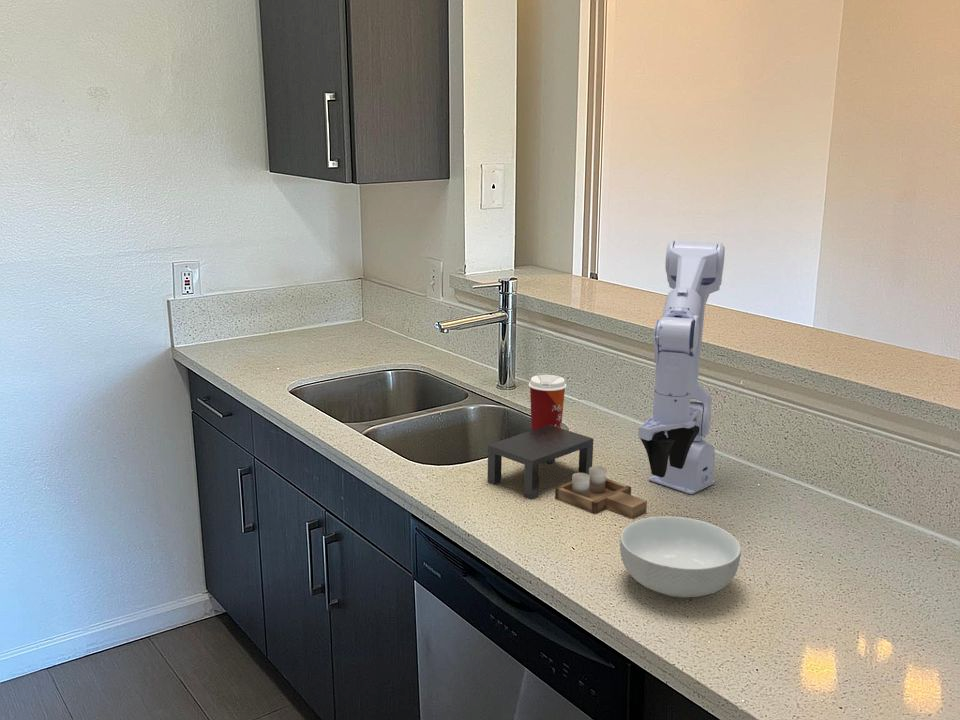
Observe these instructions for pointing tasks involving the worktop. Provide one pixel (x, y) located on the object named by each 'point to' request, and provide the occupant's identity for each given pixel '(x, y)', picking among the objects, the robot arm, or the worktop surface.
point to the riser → (538, 453)
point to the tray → (600, 494)
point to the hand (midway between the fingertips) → (667, 471)
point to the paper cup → (547, 400)
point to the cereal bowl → (679, 555)
